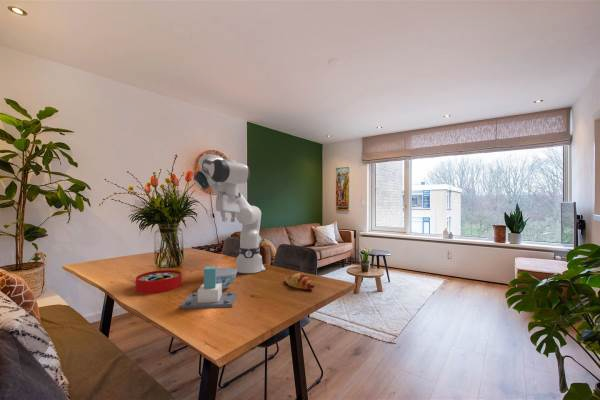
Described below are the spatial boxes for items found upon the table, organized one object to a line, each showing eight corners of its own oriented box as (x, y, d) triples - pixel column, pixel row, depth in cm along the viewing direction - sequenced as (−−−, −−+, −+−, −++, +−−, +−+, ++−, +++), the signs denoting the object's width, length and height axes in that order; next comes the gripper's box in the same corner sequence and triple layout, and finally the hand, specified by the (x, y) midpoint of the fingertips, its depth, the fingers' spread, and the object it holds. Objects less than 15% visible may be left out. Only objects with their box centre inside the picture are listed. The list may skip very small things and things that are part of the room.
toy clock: (190, 271, 139) (161, 282, 119) (190, 282, 139) (161, 295, 119) (157, 268, 144) (125, 279, 124) (157, 279, 144) (125, 292, 124)
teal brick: (205, 285, 114) (205, 266, 114) (216, 284, 115) (216, 266, 115) (203, 288, 109) (203, 269, 109) (215, 288, 110) (215, 268, 110)
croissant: (281, 288, 140) (275, 276, 137) (294, 276, 146) (289, 264, 143) (309, 299, 124) (303, 285, 122) (323, 284, 130) (317, 271, 127)
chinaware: (242, 287, 131) (242, 271, 131) (213, 294, 120) (214, 277, 120) (227, 280, 141) (227, 266, 141) (199, 287, 131) (199, 271, 131)
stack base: (190, 296, 118) (190, 282, 118) (236, 295, 120) (236, 281, 120) (179, 308, 105) (179, 292, 105) (232, 306, 107) (232, 291, 107)
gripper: (224, 189, 119) (225, 220, 117) (242, 195, 139) (243, 221, 137) (211, 190, 120) (212, 221, 118) (230, 196, 140) (231, 222, 138)
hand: (228, 221), depth 128 cm, fingers open, 8 cm apart
